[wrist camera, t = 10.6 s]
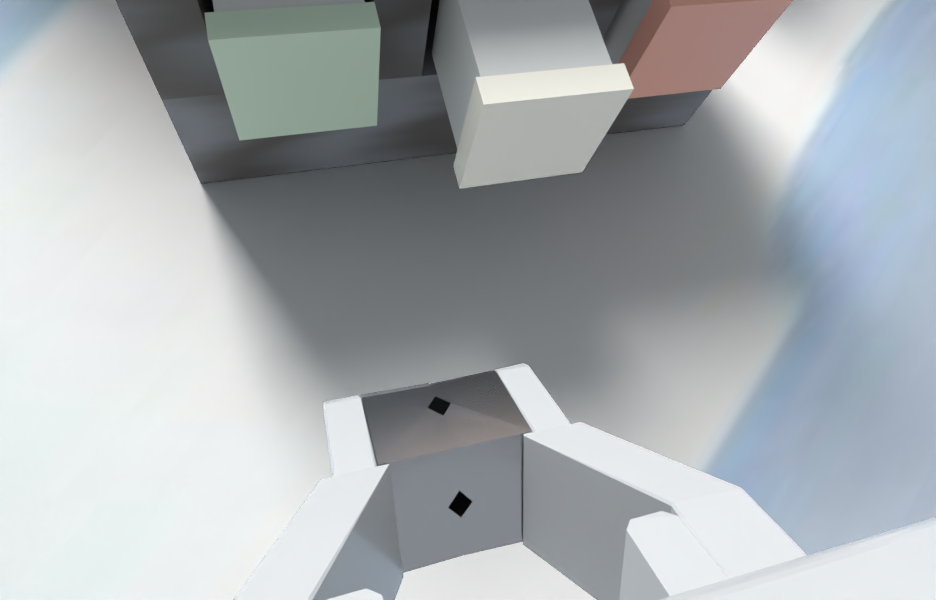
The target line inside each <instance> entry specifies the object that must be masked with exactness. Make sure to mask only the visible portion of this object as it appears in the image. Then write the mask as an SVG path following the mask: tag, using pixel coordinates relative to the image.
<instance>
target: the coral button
mask: <svg viewBox="0 0 936 600" xmlns="http://www.w3.org/2000/svg"><path fill="white" fill-rule="evenodd" d="M792 1H793V0H622V1H621V3H620V5H619V7H618V9H617V11H616V13H615V15H614V17H613V19H612V21H611V23H610V26H609V28H608V30H607V32H606V34H605V36H604V38H603V40H604V43H605V46H606V48H607V51H608V54H609V56H610V59H611V62H612V64H621V63H624V64H625V66H626V69H627V72H628V74H629V77H630V80H631V82H632V85H633V88H634V90H633V91H632V93H631V94H630V96H629V98H628V99H630V98H639V97H649V96H658V95H667V94H676V93H686V92H695V91H704V90H713V89H721V87H722V86H723V85H724V84H725V83H726V81H727V80H728V79H729V78H730V76H731V75H732V74H733V73H734V72H735V70H736V69H737V68H738V67H739V65H740V64H741V63H742V62H743V61H744V59H745V58H746V57H747V56H748V54H749V53H750V52H751V51H752V50H753V48H754V47H755V46H756V45H757V43H758V42H759V41H760V40H761V39H762V37H763V36H764V35H765V34H766V32H767V31H768V30H769V29H770V27H771V26H772V25H773V24H774V23H775V21H776V20H777V19H778V18H779V16H780V15H781V14H782V13H783V12H784V10H785V9H786V8H787V7H788V5H789V4H790V3H791V2H792Z"/></svg>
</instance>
